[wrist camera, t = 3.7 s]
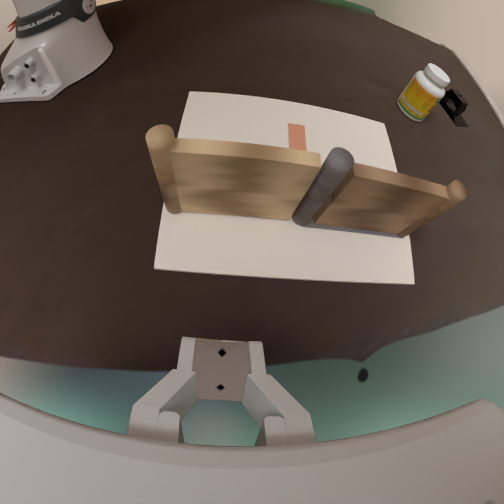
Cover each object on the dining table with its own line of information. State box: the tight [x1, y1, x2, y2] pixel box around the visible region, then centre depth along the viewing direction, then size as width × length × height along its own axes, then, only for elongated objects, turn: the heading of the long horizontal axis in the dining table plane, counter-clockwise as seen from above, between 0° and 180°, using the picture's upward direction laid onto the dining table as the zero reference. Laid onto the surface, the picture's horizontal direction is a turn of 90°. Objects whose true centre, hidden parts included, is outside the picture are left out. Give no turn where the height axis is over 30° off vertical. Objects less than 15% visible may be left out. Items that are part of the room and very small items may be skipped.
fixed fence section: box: [292, 147, 467, 238], centre depth 23 cm, size 14×2×10 cm, turn 88°
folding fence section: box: [146, 125, 321, 220], centre depth 21 cm, size 11×2×10 cm, turn 88°
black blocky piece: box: [439, 89, 468, 127], centre depth 38 cm, size 12×7×5 cm, turn 20°
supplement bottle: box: [397, 63, 450, 122], centre depth 32 cm, size 5×5×10 cm
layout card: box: [154, 91, 415, 285], centre depth 29 cm, size 26×22×1 cm
